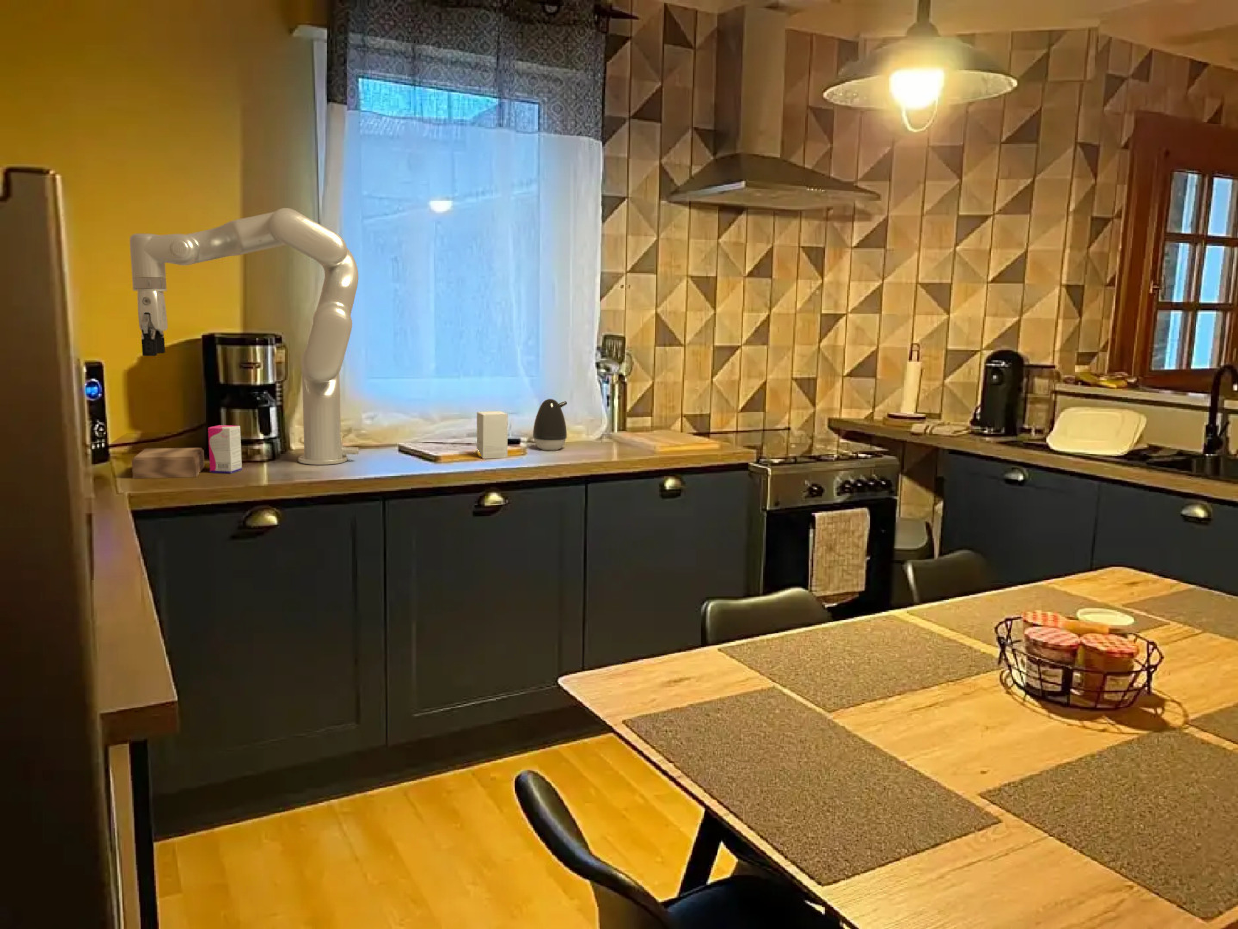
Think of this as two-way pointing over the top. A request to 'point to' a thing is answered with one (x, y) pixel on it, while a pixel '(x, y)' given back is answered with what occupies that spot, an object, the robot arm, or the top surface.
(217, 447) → the supplement box
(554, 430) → the pump dispenser
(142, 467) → the block
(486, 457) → the supplement box
